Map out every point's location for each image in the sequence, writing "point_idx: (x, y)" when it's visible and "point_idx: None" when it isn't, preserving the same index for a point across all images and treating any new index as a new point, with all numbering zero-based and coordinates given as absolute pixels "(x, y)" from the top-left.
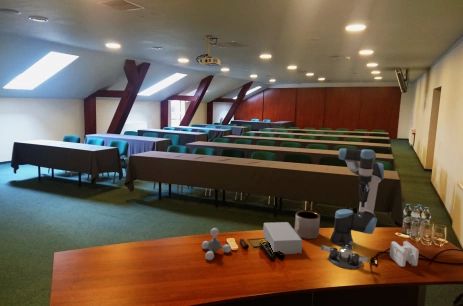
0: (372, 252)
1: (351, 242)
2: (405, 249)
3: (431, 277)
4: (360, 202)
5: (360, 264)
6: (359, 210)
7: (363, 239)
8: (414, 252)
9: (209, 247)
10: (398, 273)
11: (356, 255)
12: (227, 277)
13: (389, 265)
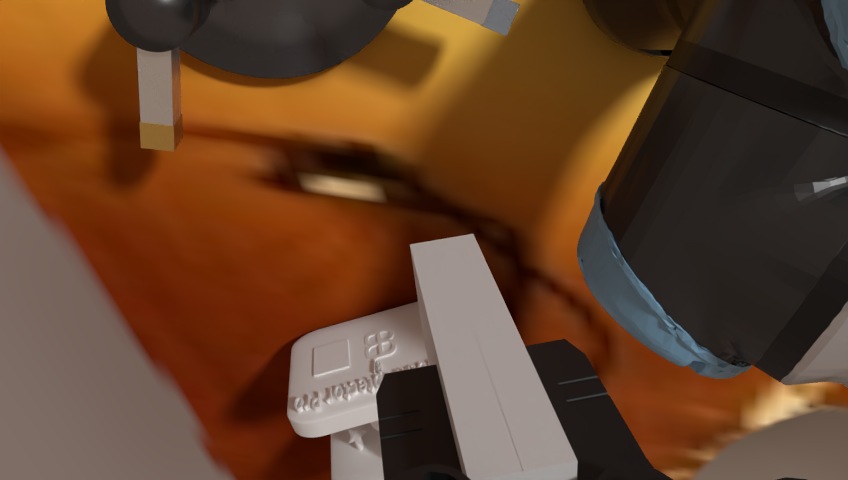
0: (497, 189)
1: (485, 15)
2: None
3: (240, 450)
4: (489, 441)
5: (201, 52)
6: (446, 250)
7: None
8: (349, 468)
9: None
10: (209, 303)
11: (138, 16)
12: None
13: (311, 269)
